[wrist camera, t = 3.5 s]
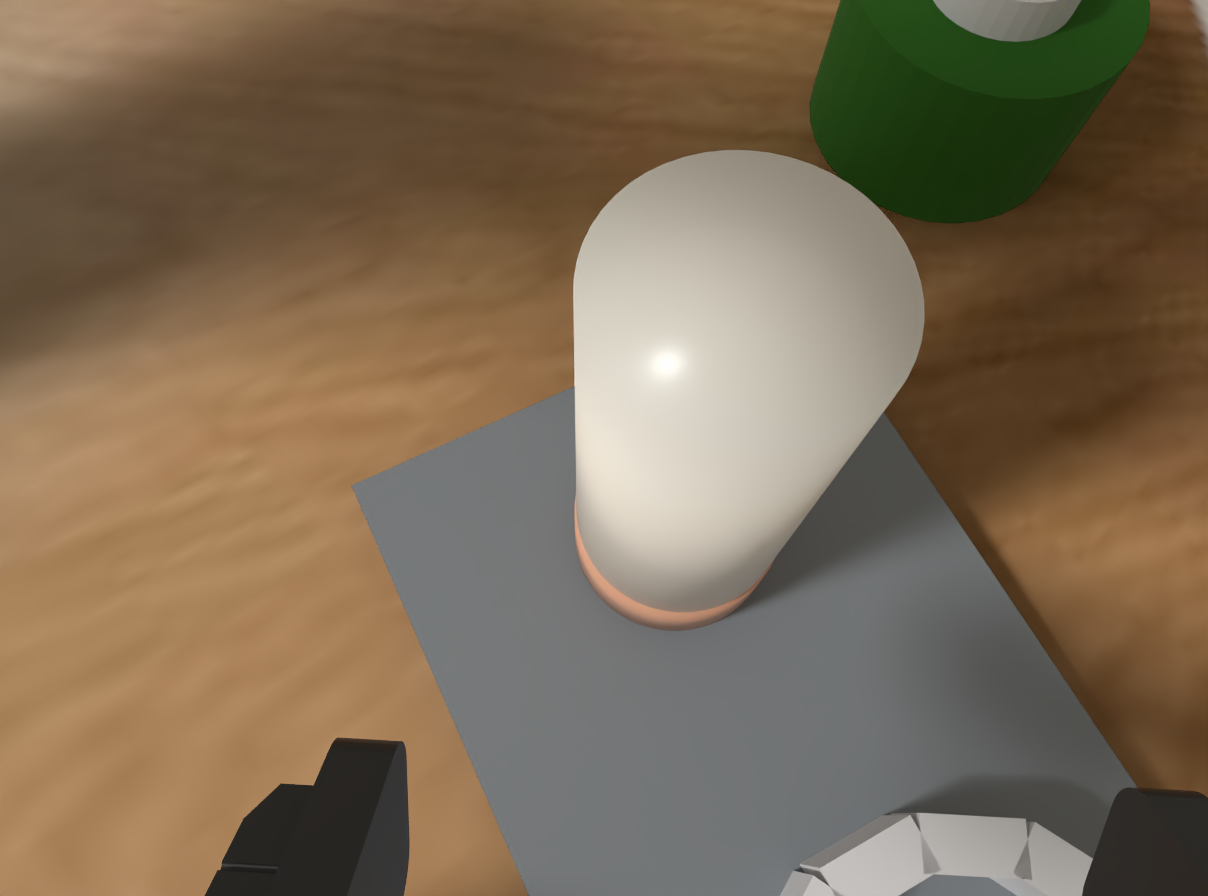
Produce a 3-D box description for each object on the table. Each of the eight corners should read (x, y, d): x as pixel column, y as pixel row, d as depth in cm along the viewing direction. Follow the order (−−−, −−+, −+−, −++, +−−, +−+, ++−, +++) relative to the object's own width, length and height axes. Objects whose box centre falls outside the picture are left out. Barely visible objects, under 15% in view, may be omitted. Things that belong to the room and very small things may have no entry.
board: (360, 497, 25) (332, 458, 23) (791, 303, 28) (814, 246, 25) (820, 1557, 18) (864, 1695, 15) (1357, 1151, 20) (1479, 1203, 18)
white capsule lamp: (542, 492, 25) (510, 222, 13) (708, 415, 26) (807, 102, 14) (630, 666, 23) (678, 521, 12) (804, 576, 24) (1000, 363, 13)
